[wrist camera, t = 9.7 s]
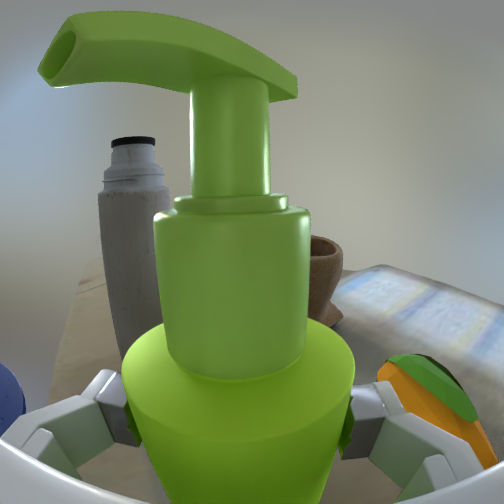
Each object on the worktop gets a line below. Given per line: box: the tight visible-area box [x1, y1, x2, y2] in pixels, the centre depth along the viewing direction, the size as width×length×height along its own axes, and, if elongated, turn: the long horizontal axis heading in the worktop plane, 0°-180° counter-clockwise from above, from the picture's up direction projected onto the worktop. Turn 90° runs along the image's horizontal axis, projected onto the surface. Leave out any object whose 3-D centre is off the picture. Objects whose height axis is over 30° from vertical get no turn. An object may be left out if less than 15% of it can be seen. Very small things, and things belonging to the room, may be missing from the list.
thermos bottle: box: [98, 136, 170, 363], centre depth 31 cm, size 8×8×28 cm
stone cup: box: [307, 235, 343, 328], centre depth 44 cm, size 15×12×15 cm
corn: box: [376, 354, 499, 470], centre depth 19 cm, size 7×8×20 cm
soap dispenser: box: [38, 11, 355, 504], centre depth 7 cm, size 6×7×20 cm
